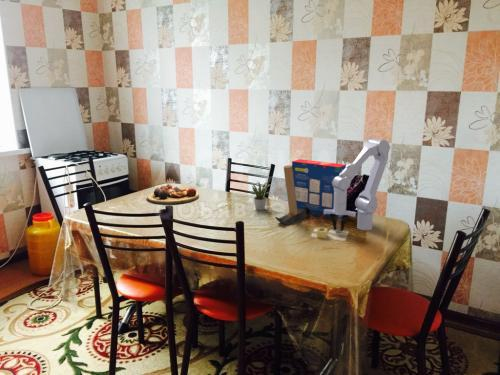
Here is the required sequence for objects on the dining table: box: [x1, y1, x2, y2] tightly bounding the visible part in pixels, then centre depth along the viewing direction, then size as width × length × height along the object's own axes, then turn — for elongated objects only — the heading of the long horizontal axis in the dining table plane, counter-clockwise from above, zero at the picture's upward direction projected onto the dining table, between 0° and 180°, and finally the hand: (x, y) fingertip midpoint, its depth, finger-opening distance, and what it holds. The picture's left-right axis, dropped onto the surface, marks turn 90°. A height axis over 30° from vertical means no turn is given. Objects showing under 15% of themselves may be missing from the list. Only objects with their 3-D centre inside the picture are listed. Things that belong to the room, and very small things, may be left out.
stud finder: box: [317, 227, 329, 239], centre depth 198 cm, size 5×4×3 cm
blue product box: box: [291, 159, 347, 219], centre depth 232 cm, size 28×8×28 cm, turn 53°
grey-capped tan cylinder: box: [335, 218, 342, 233], centre depth 203 cm, size 3×3×6 cm
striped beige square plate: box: [309, 227, 350, 242], centre depth 201 cm, size 14×16×1 cm
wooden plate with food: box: [147, 183, 200, 205], centre depth 268 cm, size 32×32×8 cm
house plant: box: [250, 180, 273, 211], centre depth 243 cm, size 14×14×16 cm
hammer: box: [274, 164, 311, 226], centre depth 218 cm, size 20×5×30 cm, turn 129°
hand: (338, 229), depth 203 cm, fingers open, 3 cm apart
